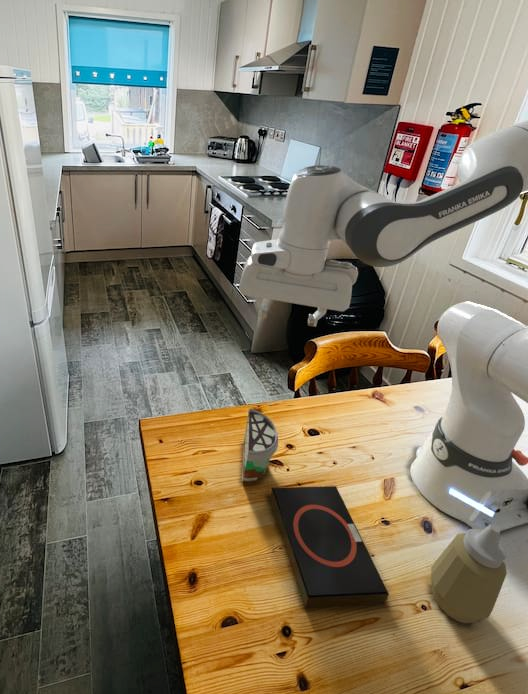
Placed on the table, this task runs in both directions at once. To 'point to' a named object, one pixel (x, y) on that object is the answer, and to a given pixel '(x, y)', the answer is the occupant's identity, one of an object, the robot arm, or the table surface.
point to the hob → (326, 549)
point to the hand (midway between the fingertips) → (286, 320)
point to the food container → (258, 446)
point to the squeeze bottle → (470, 575)
